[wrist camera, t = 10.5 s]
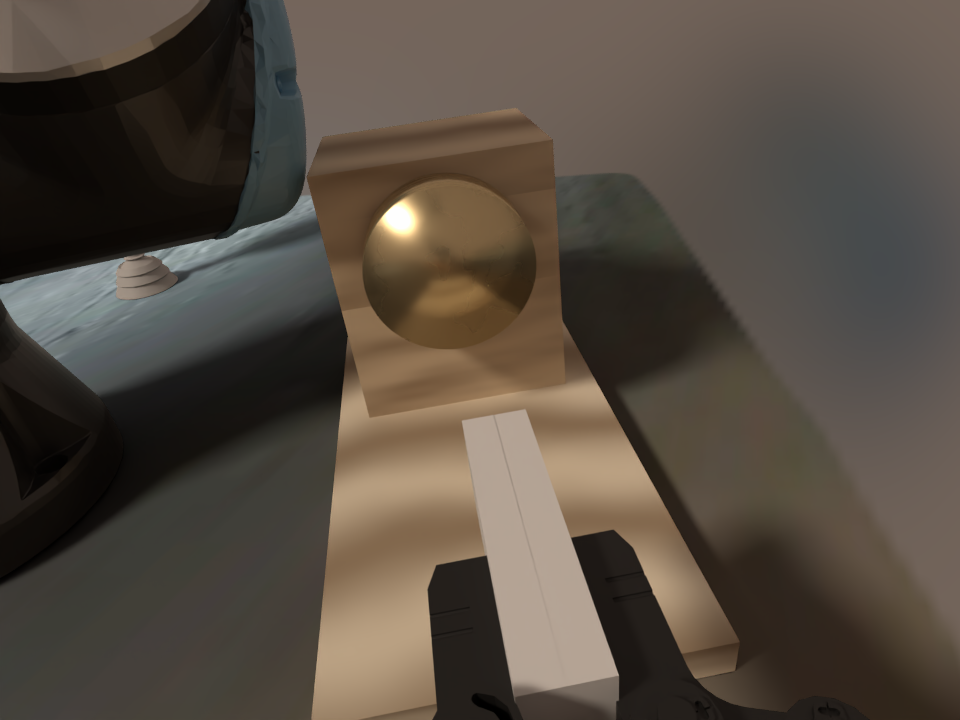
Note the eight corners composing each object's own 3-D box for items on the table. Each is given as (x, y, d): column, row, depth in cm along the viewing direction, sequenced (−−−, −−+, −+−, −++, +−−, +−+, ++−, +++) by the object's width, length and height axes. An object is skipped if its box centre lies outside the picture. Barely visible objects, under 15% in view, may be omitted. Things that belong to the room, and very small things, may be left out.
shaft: (541, 334, 27) (529, 172, 23) (381, 361, 27) (344, 201, 23) (497, 240, 37) (484, 117, 34) (381, 258, 37) (355, 136, 33)
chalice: (112, 313, 50) (-6, 69, 40) (94, 291, 55) (-15, 68, 45) (201, 281, 54) (113, 51, 44) (177, 263, 58) (93, 51, 49)
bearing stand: (735, 670, 20) (801, 280, 13) (323, 755, 19) (147, 390, 12) (553, 323, 40) (540, 100, 33) (353, 357, 39) (295, 137, 32)
